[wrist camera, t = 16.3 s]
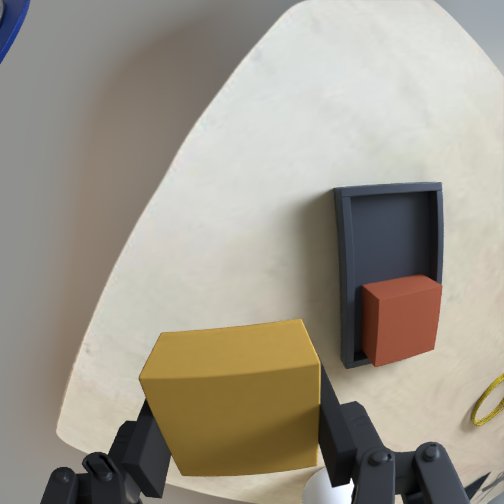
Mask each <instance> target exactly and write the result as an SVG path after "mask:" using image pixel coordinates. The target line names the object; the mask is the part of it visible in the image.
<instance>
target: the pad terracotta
mask: <svg viewBox="0 0 504 504" xmlns="http://www.w3.org/2000/svg"><path fill="white" fill-rule="evenodd" d="M441 295H442V285H441V284H439V283H437V282H435V281H433V280H432V279H430V278H428V277H426V276H424V275H422V274H416V275H412V276H407V277H402V278H396V279H391V280H386V281H381V282H375V283H370V284H364V285H362V322H361V348H362V350H363V351H364V353H365V354H366V355H367V357H368V358H369V360H370V361H371V363H372V364H373V365H374V367H378V366H382V365H385V364H389V363H392V362H396V361H399V360H403V359H406V358H409V357H412V356H416V355H419V354H422V353H425V352H428V351H431V350H434V346H435V340H436V334H437V328H438V321H439V313H440V304H441Z"/></svg>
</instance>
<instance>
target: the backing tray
mask: <svg viewBox="0 0 504 504" xmlns="http://www.w3.org/2000/svg"><path fill="white" fill-rule="evenodd" d="M333 190H334V200H335V210H336V222H337V236H338V251H339V270H340V299H341V361H342V363H343V365H344V366H345V368H346V369H350V368H354V367H359V366H363V365H367V364H371V361H370V360H369V358H368V357H367V355H366V354H365V353H364V351H363V350H362V348H361V322H362V285H364V284H370V283H375V282H381V281H386V280H391V279H396V278H402V277H407V276H412V275H416V274H422V275H424V276H426V277H428V278H430V279H432V280H433V281H435V282H437V283H439V284H441V285H442V270H443V243H444V222H443V195H442V183H441V182H415V183H395V184H378V185H363V186H350V187H338V188H333Z"/></svg>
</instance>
